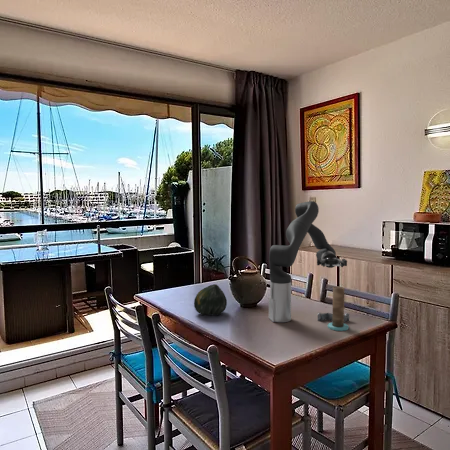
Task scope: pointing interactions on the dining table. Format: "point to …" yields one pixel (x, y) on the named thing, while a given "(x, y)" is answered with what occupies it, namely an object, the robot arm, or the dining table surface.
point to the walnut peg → (338, 307)
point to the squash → (210, 301)
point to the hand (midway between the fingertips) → (333, 264)
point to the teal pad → (338, 327)
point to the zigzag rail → (330, 316)
